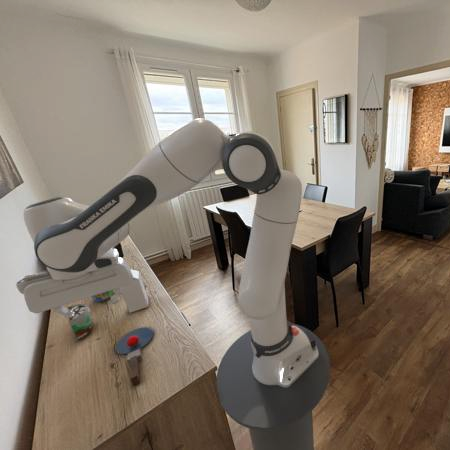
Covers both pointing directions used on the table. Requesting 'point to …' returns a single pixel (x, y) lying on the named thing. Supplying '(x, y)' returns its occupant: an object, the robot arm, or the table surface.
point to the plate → (144, 338)
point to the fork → (134, 365)
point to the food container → (81, 321)
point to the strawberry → (132, 341)
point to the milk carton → (135, 293)
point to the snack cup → (102, 296)
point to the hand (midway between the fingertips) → (94, 309)
